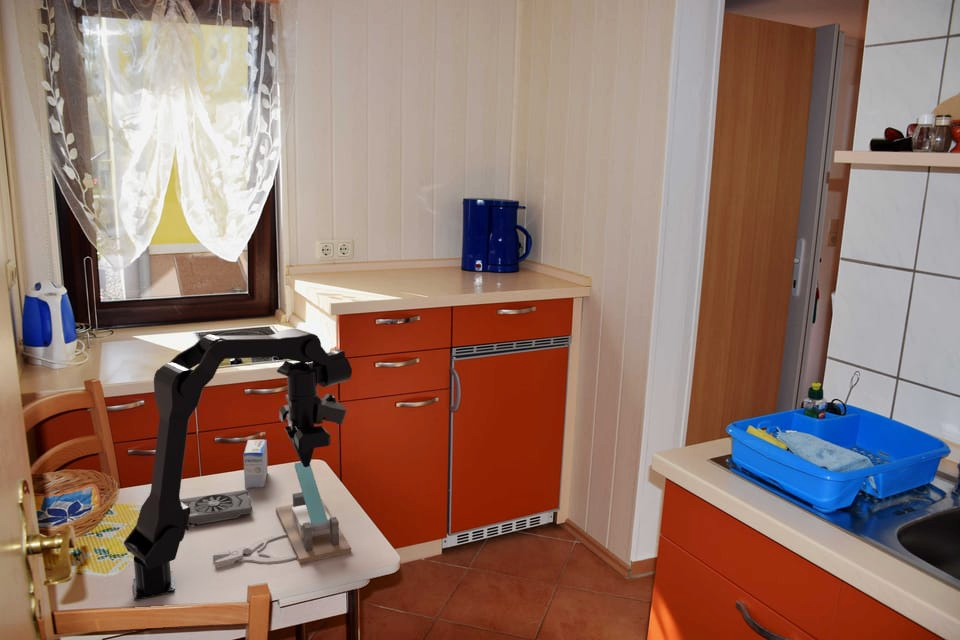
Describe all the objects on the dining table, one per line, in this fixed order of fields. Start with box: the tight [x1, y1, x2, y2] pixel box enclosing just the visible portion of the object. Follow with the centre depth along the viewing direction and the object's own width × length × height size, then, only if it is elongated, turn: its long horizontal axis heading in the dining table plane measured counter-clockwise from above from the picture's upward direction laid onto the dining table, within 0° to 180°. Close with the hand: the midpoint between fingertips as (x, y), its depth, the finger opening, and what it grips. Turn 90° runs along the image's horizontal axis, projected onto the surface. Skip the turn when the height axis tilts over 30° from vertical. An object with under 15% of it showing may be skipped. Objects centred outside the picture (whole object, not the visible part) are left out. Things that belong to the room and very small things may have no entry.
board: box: [275, 498, 352, 565], centre depth 151 cm, size 22×10×6 cm, turn 26°
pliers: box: [212, 532, 297, 569], centre depth 143 cm, size 10×2×15 cm
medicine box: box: [243, 439, 268, 489], centre depth 173 cm, size 8×4×9 cm, turn 10°
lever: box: [294, 461, 330, 532], centre depth 149 cm, size 17×3×1 cm, turn 27°
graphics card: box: [180, 489, 253, 528], centre depth 157 cm, size 17×4×12 cm
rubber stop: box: [292, 491, 306, 507], centre depth 158 cm, size 2×4×5 cm, turn 116°
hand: (305, 464), depth 152 cm, fingers open, 2 cm apart
